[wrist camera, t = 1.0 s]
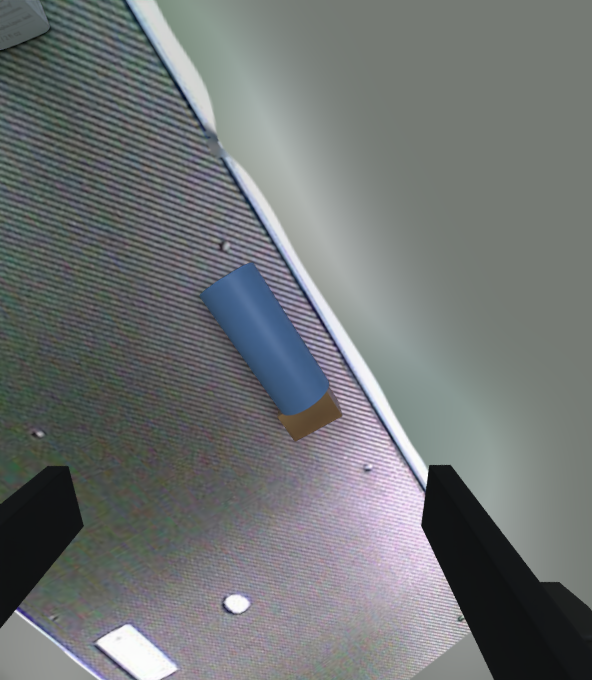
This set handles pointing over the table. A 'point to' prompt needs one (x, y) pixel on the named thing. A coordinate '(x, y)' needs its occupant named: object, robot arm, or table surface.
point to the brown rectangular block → (312, 416)
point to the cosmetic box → (21, 21)
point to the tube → (266, 339)
